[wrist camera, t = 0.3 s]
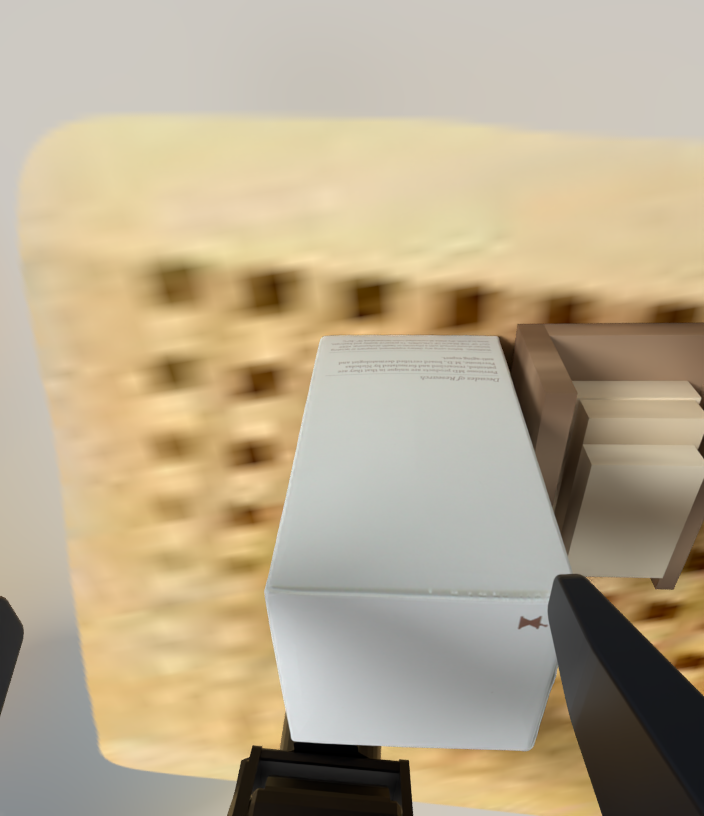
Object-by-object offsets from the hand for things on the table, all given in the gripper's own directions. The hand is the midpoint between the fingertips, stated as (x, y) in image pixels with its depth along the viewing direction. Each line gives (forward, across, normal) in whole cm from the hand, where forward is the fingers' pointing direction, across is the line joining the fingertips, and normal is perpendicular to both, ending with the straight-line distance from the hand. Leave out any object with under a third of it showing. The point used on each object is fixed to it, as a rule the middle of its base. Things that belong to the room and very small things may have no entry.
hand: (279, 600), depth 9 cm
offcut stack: (+13, -12, +8) cm, 20 cm away
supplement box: (+15, -3, +6) cm, 17 cm away
